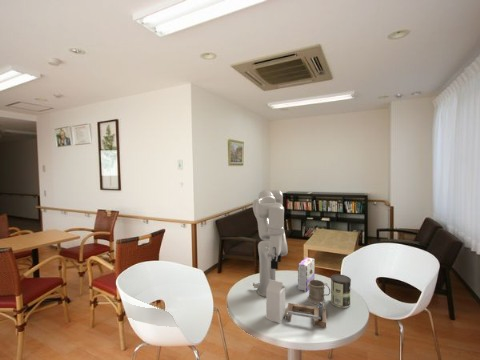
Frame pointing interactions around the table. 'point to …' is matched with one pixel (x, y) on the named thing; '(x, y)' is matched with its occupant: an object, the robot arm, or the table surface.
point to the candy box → (305, 273)
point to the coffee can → (340, 290)
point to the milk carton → (275, 301)
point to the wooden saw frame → (309, 310)
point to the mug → (317, 291)
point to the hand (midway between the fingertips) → (276, 265)
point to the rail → (302, 315)
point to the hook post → (321, 310)
